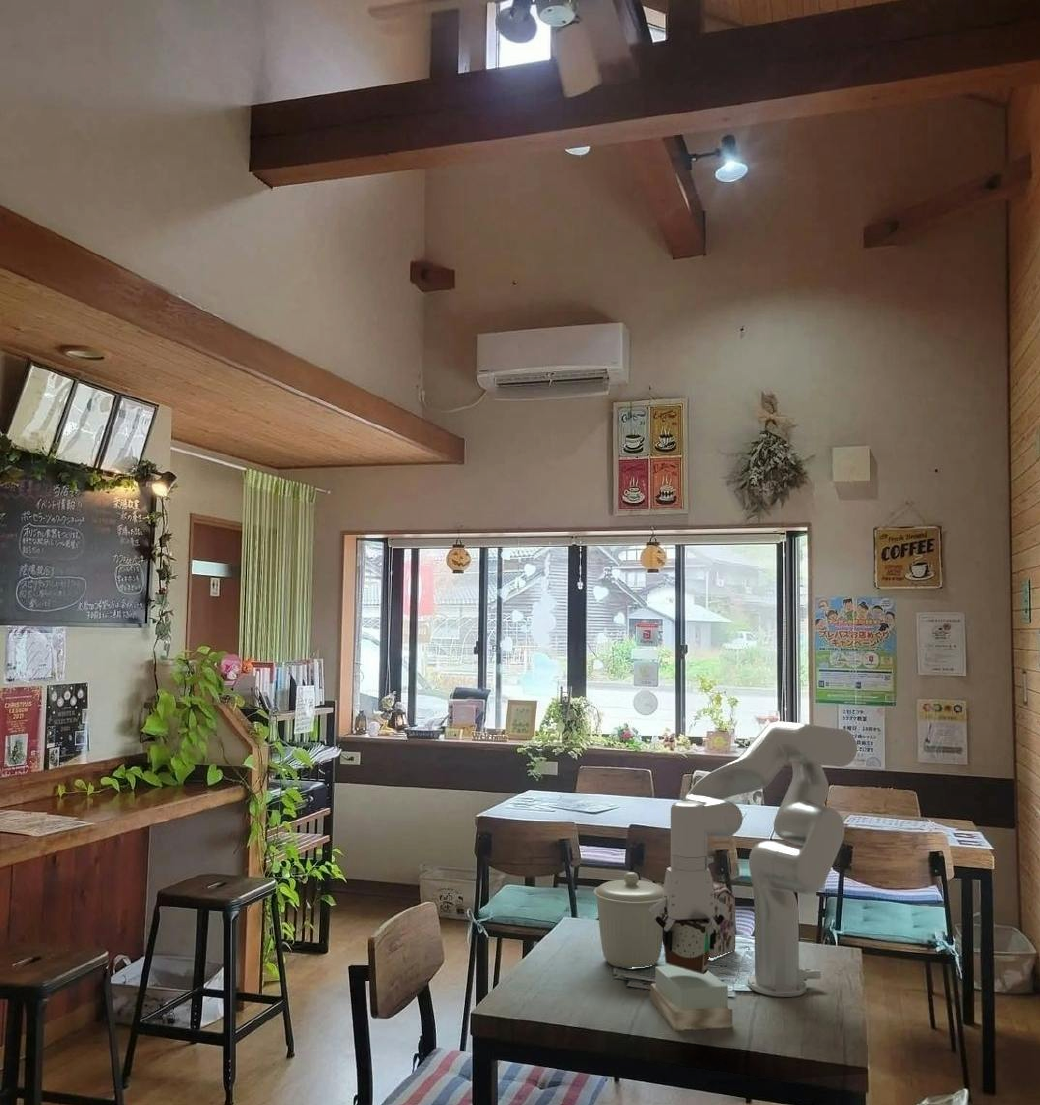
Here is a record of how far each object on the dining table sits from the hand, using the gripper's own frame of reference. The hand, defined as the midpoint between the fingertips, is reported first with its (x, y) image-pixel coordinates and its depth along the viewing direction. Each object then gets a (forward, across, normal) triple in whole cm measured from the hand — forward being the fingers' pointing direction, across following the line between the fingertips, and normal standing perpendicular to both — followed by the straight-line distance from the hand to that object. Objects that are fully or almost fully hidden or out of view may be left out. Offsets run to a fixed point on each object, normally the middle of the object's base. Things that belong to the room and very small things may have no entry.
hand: (689, 948), depth 204 cm
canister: (+13, +4, -32) cm, 35 cm away
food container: (+4, -1, 0) cm, 4 cm away
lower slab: (+14, 0, 0) cm, 14 cm away
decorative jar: (+13, -16, -38) cm, 43 cm away
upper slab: (+10, 0, 0) cm, 10 cm away
